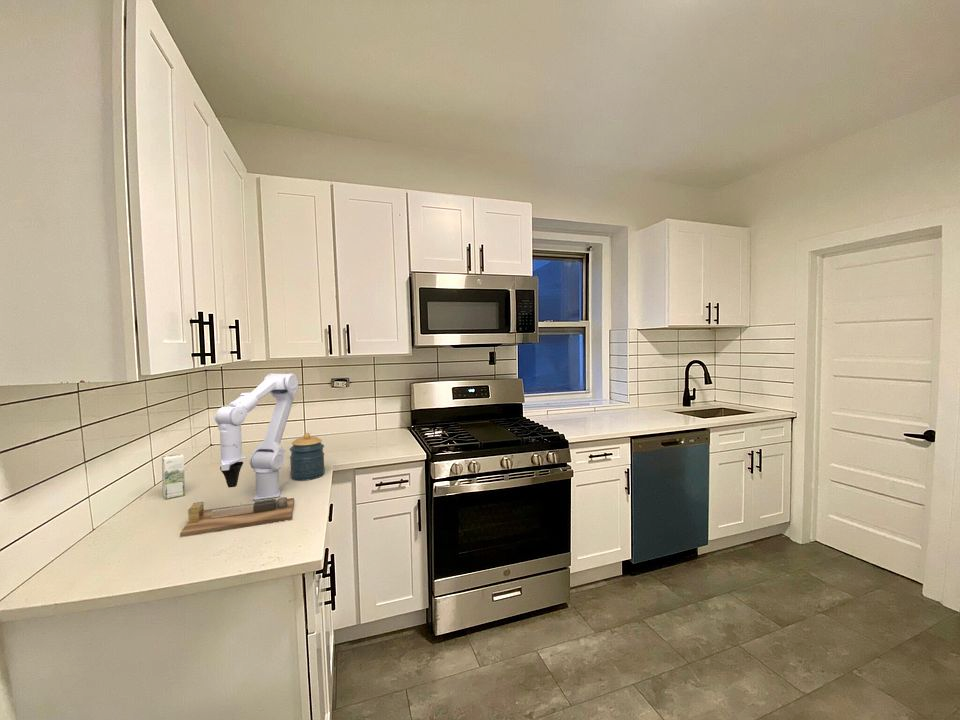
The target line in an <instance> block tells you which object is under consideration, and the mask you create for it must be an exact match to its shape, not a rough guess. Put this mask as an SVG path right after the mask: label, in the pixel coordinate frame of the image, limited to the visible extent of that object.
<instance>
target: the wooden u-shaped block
mask: <svg viewBox="0 0 960 720" xmlns="http://www.w3.org/2000/svg"><path fill="white" fill-rule="evenodd" d="M204 503H205V502H204V501H198V502H197V501H196V502H193V503H192V504H191V506H190V507H189V508H188V510H187V511H188V513H187V515H188V517H187V519H188V520H187V521H189V523H193V522H199V515H204V510H205V507H204V505H205V504H204Z"/></svg>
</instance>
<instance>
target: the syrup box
mask: <svg viewBox="0 0 960 720" xmlns="http://www.w3.org/2000/svg"><path fill="white" fill-rule="evenodd" d="M161 469H162V470H161V473H162V475H161V478H162V496H163V497H164V500H170V499H174V498H178V497H179V498H180V497H182V496H185V495H186V494H185V493H186V490H185V489H186V487H185V486H186V483H185V482H186V481H185V480H186V479H185V456H184V455H183V454H182V453H180V452H179V453H173V454H167V455H162V456H161Z"/></svg>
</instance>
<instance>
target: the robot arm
mask: <svg viewBox="0 0 960 720" xmlns="http://www.w3.org/2000/svg"><path fill="white" fill-rule="evenodd" d="M298 387H299V381H298V378H297V376H296V374H295V373H274V372H272V373H268V374H267V375H266V376H265V377H264V378H263V381H261V382H260V384H258V386H257V387H255V388H254V389H253V390H252V391H250V392H241V393H240V395H239V397H237V398H236V399H235V400H233V401H231V402H229V404H228V405H227V406H221V407H220V408H219V409H218V410H217V411H216V412H215V416H214V421H215V423H216V424H217V429H218V430H219V441H220V443H219V444H220V445H219V446H220V459H219V463H220V466H219V470H220V472H221V473H222V474H223V476H224V478H225V482H226V485H227V488H228V489H229V488H236V487H237V486H238V481H239V477H240V472H241V470H242V467H243V465H244V461H243V460H246V459H247V456H246V455H243V451H242V450H243V448H242V447H243V446H242V445H243V444H242V441H243V440H242V424H243V423H244V422H245V419H246V418H247V417H246V416H248V414H249V413H250V412H252V411H253V409H255V408H256V407H257V406H258V405H259V401H260V399H262V398H263V397H265V396H266V395H268V394H269V393H270V394H271V395H272V397H273V398H275V399H276V402H275V403H276V404H275V406H274V409H273V412H272V415H271V417H270V421H269V424H268V427H267V430H266V433H265V437H264V439H263V441H262V442H261V443H260V444H259V443H258V445H256V447H255V449H254V451H253V453H252V454H251V456H250V457H249V466H250V467H251V469H252V470H253V472H255V494H254V497H253V501H260V500H268V499H275V498H280V496H281V491H282V487H281V486H280V481H279V480H280V479H279V473H280V472H279V470H281V468H282V466H283V464H284V460H285V459H284V457H285V456H284V455H285V452H286V450H285V449H284V448H283V447H282V445H281V442H282V439H283V435H284V432H285V429H286V425H287V422H288V419H289V416H290V413H291V409H292V407H293V403H294V398H295V396H296V393H297V389H298Z"/></svg>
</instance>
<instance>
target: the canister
mask: <svg viewBox="0 0 960 720" xmlns="http://www.w3.org/2000/svg"><path fill="white" fill-rule="evenodd" d="M322 441H323V439H321V438H319V437H318V436H314V435H313V436H311V434H310V433H309V432H305V433H303V436H302V437H298V438H295V440H293V441H292V442H291V445H292V446H291V447H290V448H289V451H290V456H289V460H290V461H289V462H290V472H289V476H290V479H291V480H293V479H295V481H308V480H307V479H311V480H314V479H313V478H315V479H317V478H316V477H318V478H320V477H319V476H321V477H322V476H324V475H325V470H326V469H325V452H324V449H323V448H325V445H324V443H322ZM323 474H324V475H323Z"/></svg>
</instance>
